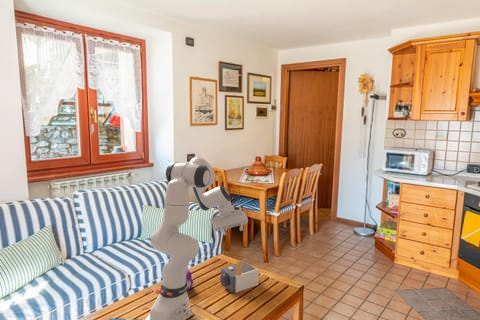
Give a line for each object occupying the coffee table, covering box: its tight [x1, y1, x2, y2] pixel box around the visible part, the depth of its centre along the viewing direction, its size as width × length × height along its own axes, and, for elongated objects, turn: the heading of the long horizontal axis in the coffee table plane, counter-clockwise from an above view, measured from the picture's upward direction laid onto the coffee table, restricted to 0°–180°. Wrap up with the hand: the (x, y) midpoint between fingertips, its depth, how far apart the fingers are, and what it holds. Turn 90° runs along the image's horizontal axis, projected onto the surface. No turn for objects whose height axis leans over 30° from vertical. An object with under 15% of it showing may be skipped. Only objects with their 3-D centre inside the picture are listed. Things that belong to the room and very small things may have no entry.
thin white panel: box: [234, 260, 260, 294], centre depth 176 cm, size 2×16×17 cm, turn 125°
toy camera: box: [186, 269, 194, 292], centre depth 175 cm, size 11×14×10 cm
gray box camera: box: [219, 261, 256, 293], centre depth 180 cm, size 11×18×10 cm, turn 125°
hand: (233, 232), depth 181 cm, fingers open, 8 cm apart
